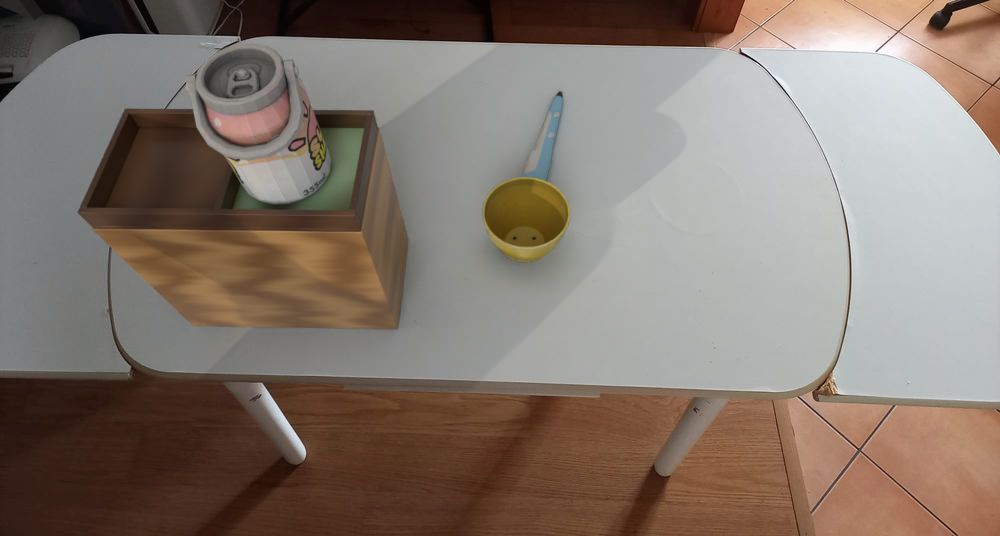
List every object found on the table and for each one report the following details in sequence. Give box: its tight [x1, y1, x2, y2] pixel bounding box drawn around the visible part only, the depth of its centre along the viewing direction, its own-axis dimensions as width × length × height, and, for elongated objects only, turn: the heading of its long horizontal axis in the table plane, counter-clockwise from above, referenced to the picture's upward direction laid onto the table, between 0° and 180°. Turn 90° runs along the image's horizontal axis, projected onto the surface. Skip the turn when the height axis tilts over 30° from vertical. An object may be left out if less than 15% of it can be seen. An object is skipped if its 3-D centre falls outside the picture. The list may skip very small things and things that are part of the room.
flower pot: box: [482, 176, 571, 263], centre depth 73 cm, size 10×10×7 cm
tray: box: [77, 108, 379, 232], centre depth 56 cm, size 24×12×2 cm, turn 89°
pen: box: [521, 90, 564, 181], centre depth 84 cm, size 19×3×3 cm, turn 166°
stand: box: [92, 127, 409, 330], centre depth 66 cm, size 24×12×20 cm, turn 89°
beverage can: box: [185, 43, 331, 205], centre depth 51 cm, size 9×8×12 cm
